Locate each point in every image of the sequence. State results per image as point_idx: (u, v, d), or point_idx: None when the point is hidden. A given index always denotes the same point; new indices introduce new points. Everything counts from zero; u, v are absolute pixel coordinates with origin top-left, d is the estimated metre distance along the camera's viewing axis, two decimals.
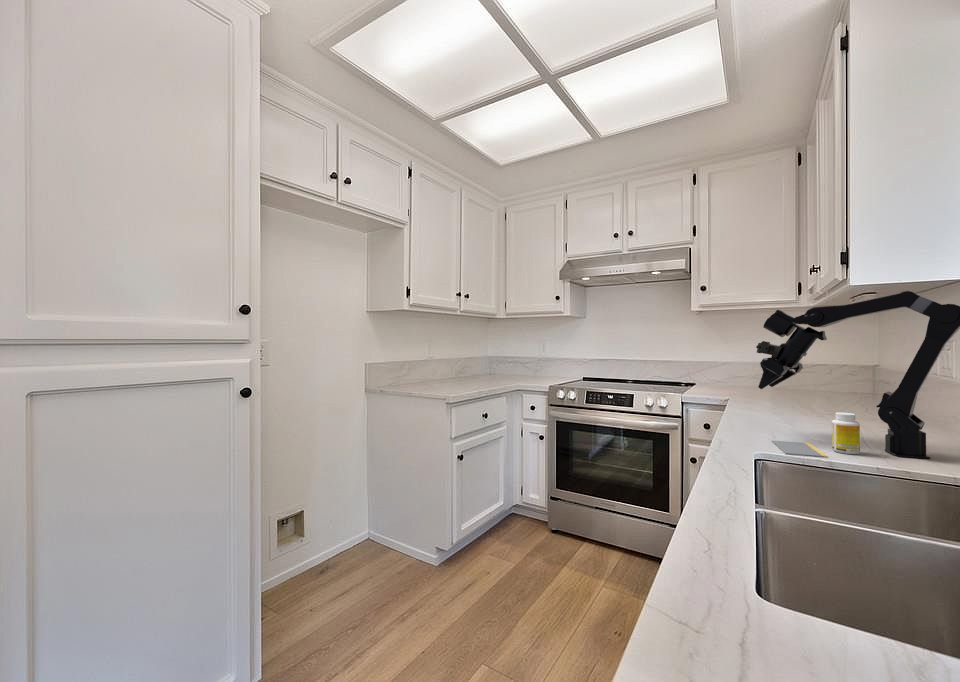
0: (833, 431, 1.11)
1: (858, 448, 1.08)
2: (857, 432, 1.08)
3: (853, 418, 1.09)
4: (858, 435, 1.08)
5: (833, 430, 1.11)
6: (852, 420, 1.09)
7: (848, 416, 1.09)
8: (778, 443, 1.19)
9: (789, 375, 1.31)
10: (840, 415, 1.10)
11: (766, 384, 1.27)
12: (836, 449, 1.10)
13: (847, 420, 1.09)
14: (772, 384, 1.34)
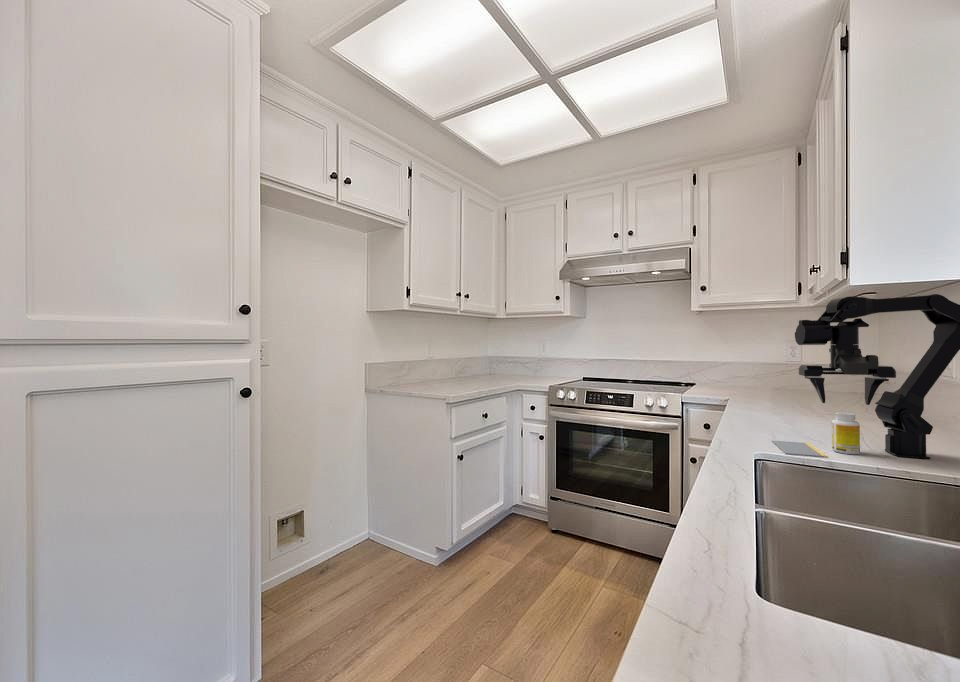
0: (833, 431, 1.11)
1: (858, 448, 1.08)
2: (857, 432, 1.08)
3: (853, 418, 1.09)
4: (858, 435, 1.08)
5: (833, 430, 1.11)
6: (852, 420, 1.09)
7: (848, 416, 1.09)
8: (778, 443, 1.19)
9: None
10: (840, 415, 1.10)
11: None
12: (836, 449, 1.10)
13: (847, 420, 1.09)
14: None
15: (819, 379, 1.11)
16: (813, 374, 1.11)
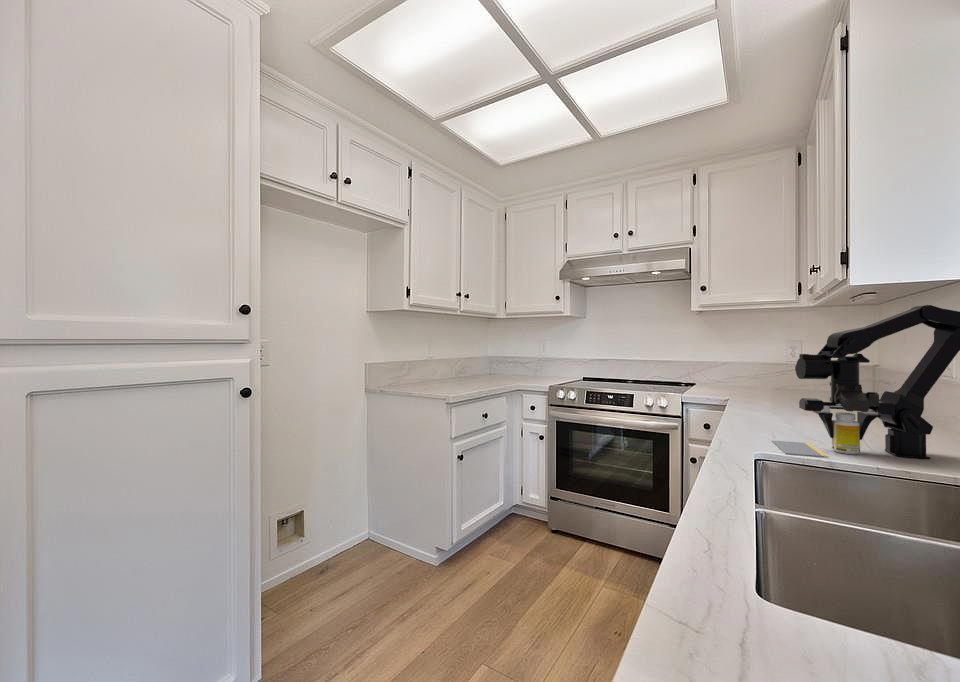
0: (833, 431, 1.11)
1: (858, 447, 1.08)
2: (857, 432, 1.08)
3: (853, 418, 1.09)
4: (858, 435, 1.08)
5: (833, 430, 1.11)
6: (852, 420, 1.09)
7: (848, 416, 1.09)
8: (778, 443, 1.19)
9: None
10: (840, 415, 1.10)
11: None
12: (836, 449, 1.10)
13: (847, 420, 1.09)
14: None
15: (827, 414, 1.10)
16: (814, 409, 1.11)
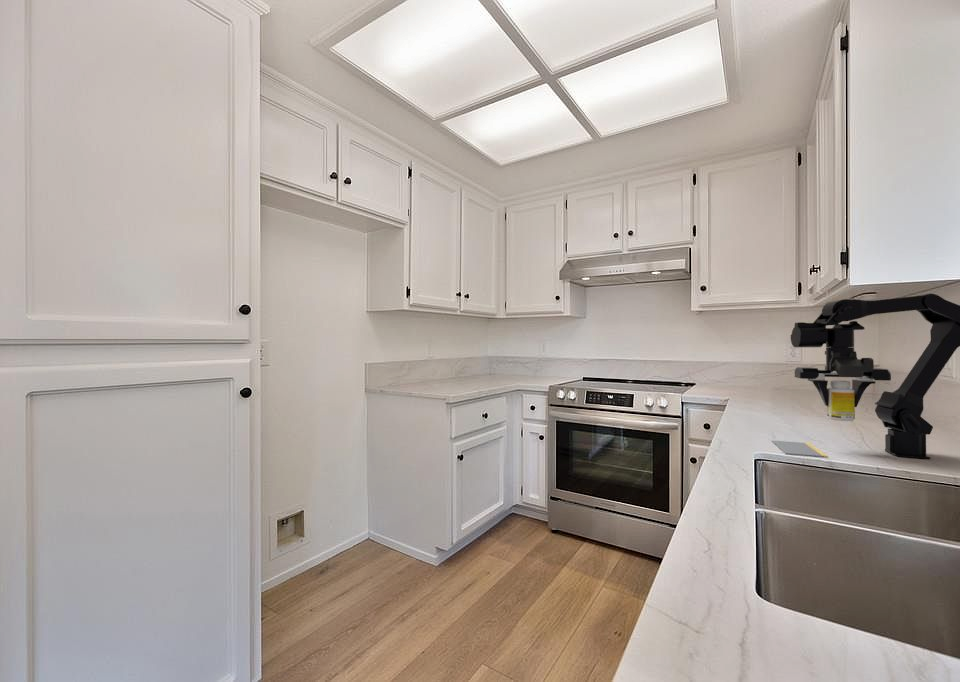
0: (828, 399, 1.12)
1: (853, 414, 1.09)
2: (852, 399, 1.09)
3: (848, 385, 1.09)
4: (853, 402, 1.09)
5: (828, 398, 1.12)
6: (847, 387, 1.09)
7: (843, 383, 1.09)
8: (778, 443, 1.19)
9: None
10: (835, 382, 1.11)
11: None
12: (831, 416, 1.11)
13: (842, 387, 1.10)
14: None
15: (822, 382, 1.11)
16: (809, 376, 1.11)
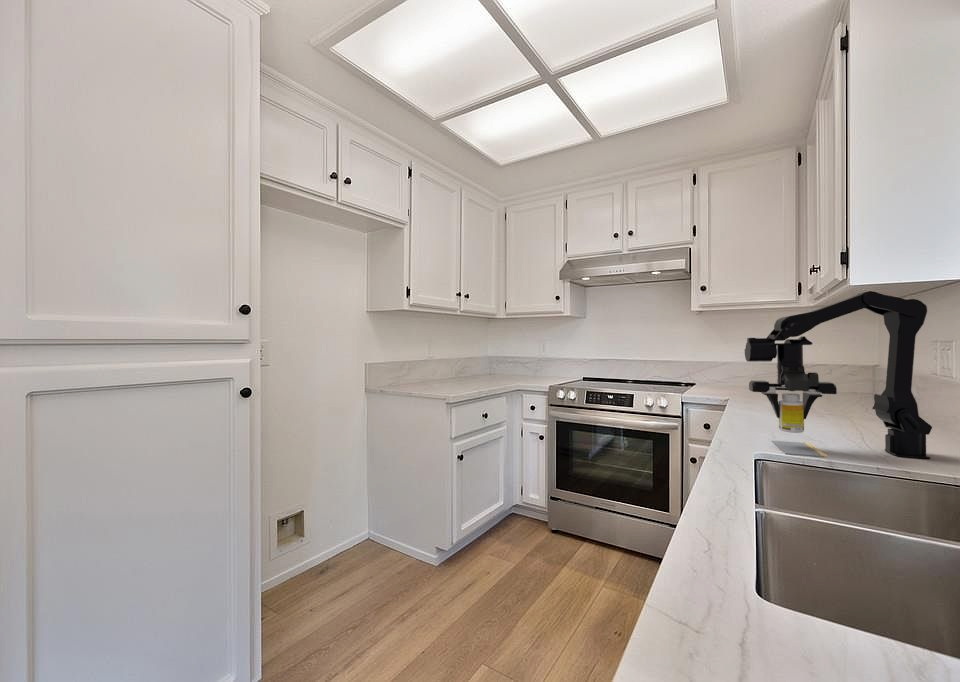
0: (779, 411, 1.16)
1: (802, 426, 1.13)
2: (801, 411, 1.13)
3: (797, 398, 1.14)
4: (802, 414, 1.13)
5: (779, 410, 1.16)
6: (796, 400, 1.14)
7: (792, 396, 1.14)
8: (778, 443, 1.19)
9: None
10: (785, 395, 1.15)
11: None
12: (782, 428, 1.15)
13: (791, 400, 1.14)
14: None
15: (773, 395, 1.15)
16: (760, 390, 1.16)
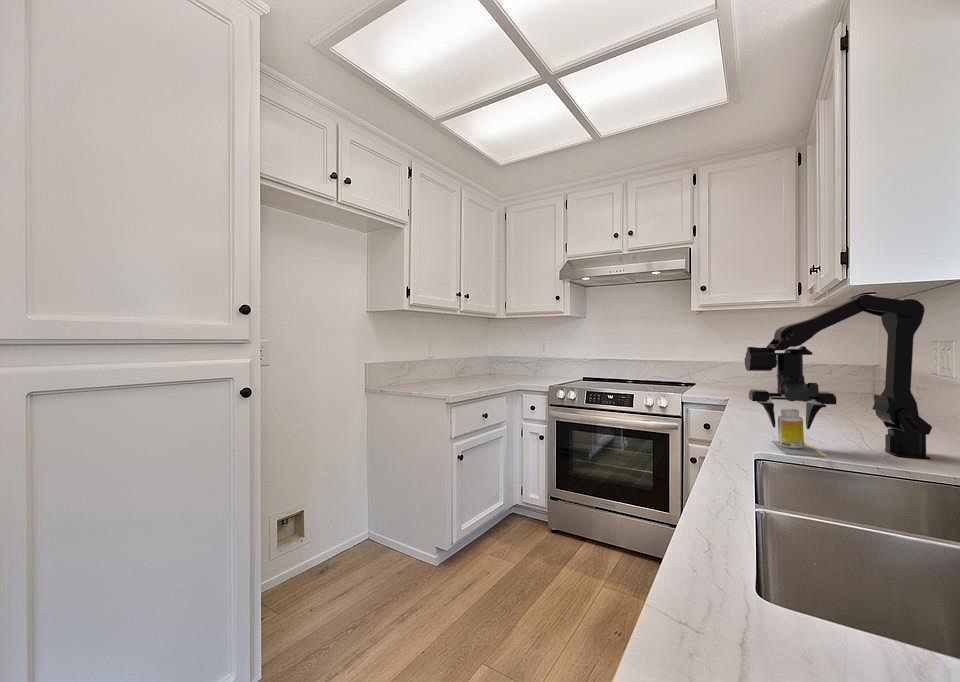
0: (779, 427, 1.16)
1: (802, 442, 1.13)
2: (800, 427, 1.13)
3: (796, 414, 1.14)
4: (801, 430, 1.13)
5: (779, 426, 1.16)
6: (795, 416, 1.14)
7: (791, 412, 1.14)
8: (778, 443, 1.19)
9: None
10: (784, 411, 1.15)
11: None
12: (782, 444, 1.15)
13: (791, 416, 1.14)
14: (774, 424, 1.17)
15: (769, 404, 1.15)
16: (760, 399, 1.16)
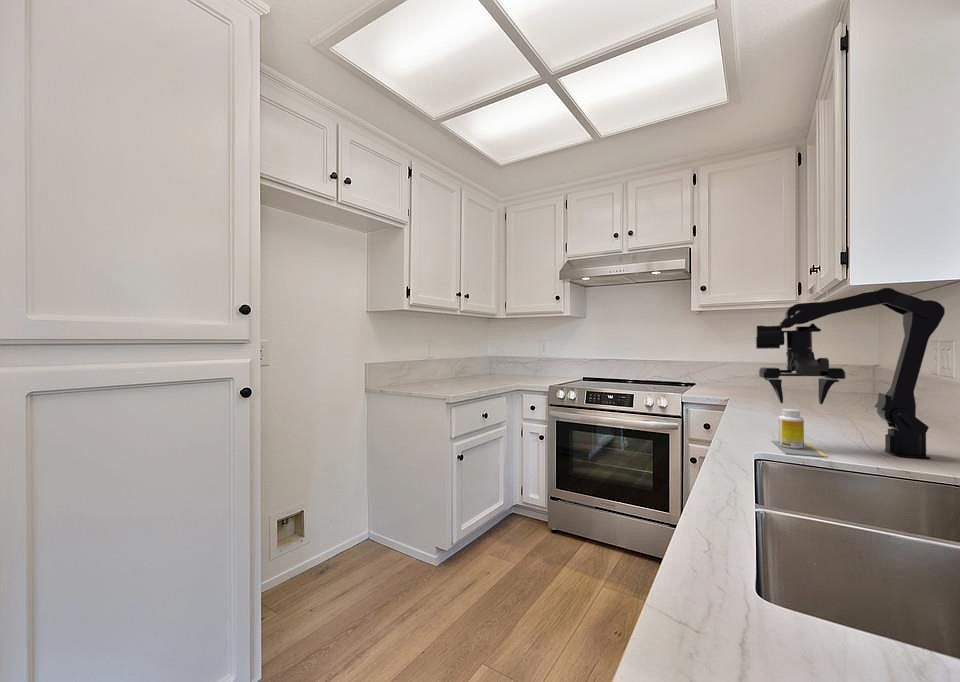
0: (779, 426, 1.16)
1: (802, 442, 1.13)
2: (801, 427, 1.13)
3: (797, 414, 1.14)
4: (802, 430, 1.13)
5: (779, 426, 1.16)
6: (796, 416, 1.14)
7: (792, 412, 1.14)
8: (778, 443, 1.19)
9: None
10: (785, 411, 1.15)
11: None
12: (782, 444, 1.15)
13: (792, 416, 1.14)
14: None
15: (777, 381, 1.18)
16: (771, 376, 1.19)
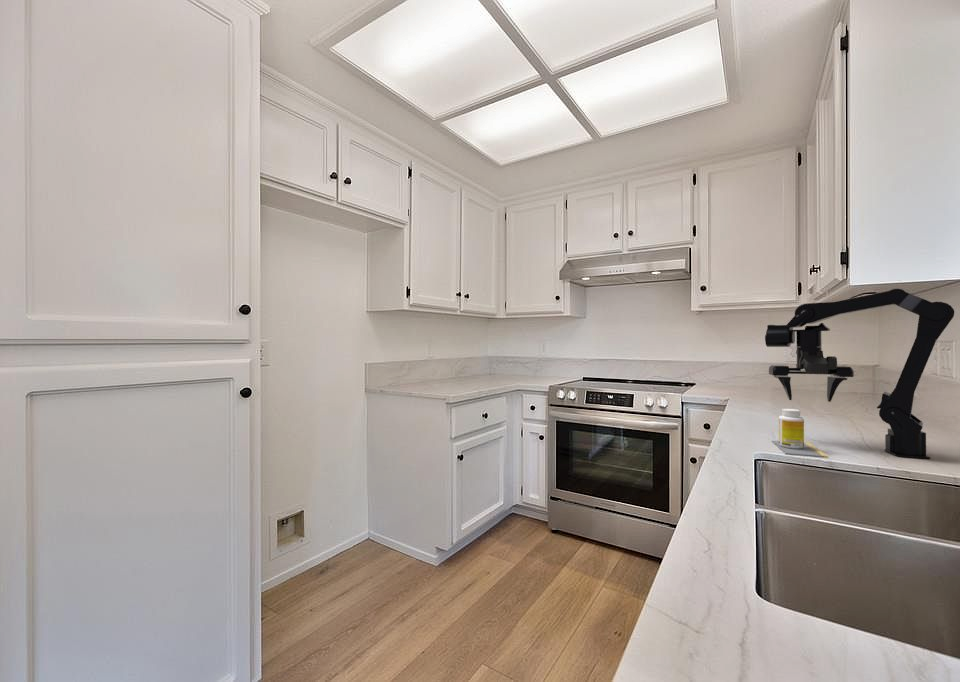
0: (779, 426, 1.16)
1: (802, 442, 1.13)
2: (801, 427, 1.13)
3: (797, 414, 1.14)
4: (802, 430, 1.13)
5: (779, 426, 1.16)
6: (796, 416, 1.14)
7: (793, 412, 1.14)
8: (778, 443, 1.19)
9: None
10: (786, 411, 1.15)
11: None
12: (782, 444, 1.15)
13: (792, 416, 1.14)
14: None
15: (786, 378, 1.22)
16: (780, 373, 1.22)
